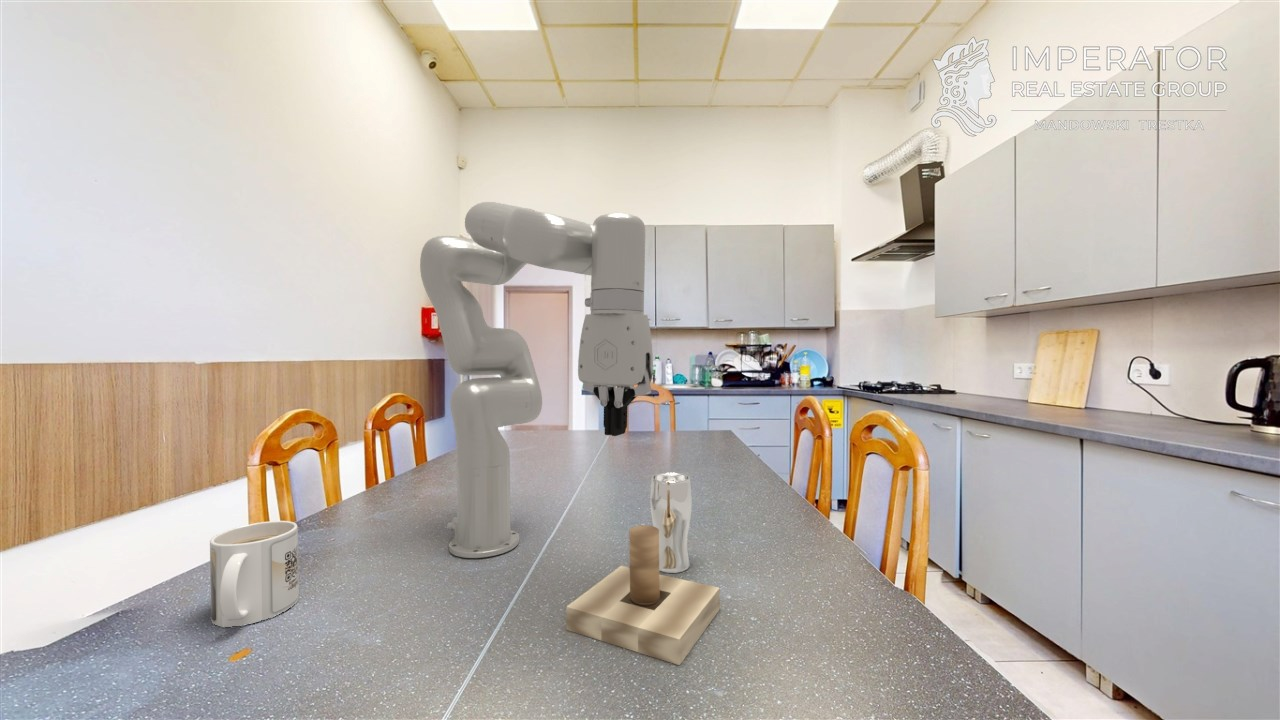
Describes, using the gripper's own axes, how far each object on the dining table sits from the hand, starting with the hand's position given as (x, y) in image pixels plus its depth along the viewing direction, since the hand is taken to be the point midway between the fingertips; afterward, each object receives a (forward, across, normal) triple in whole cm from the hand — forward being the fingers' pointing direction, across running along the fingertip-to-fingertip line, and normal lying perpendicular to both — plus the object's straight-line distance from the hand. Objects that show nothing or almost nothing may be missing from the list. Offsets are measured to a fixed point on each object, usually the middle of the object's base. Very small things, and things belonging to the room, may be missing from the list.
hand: (615, 433), depth 70 cm
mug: (+26, -44, -26) cm, 57 cm away
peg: (+24, +6, -2) cm, 25 cm away
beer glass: (+25, +2, +15) cm, 29 cm away
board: (+24, +6, -2) cm, 25 cm away
